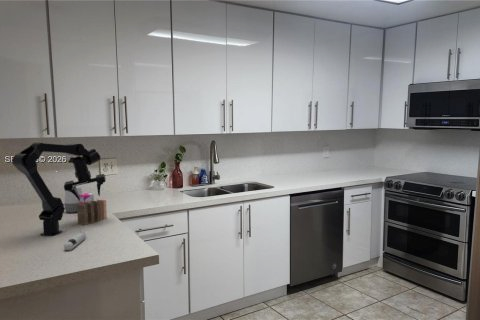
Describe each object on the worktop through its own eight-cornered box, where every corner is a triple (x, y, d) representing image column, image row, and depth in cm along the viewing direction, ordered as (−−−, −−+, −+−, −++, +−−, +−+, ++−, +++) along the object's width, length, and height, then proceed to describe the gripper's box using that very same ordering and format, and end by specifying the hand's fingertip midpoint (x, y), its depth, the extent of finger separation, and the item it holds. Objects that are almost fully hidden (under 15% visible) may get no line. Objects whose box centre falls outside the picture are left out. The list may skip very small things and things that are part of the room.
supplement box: (89, 213, 201) (88, 192, 200) (95, 214, 197) (94, 193, 196) (79, 215, 196) (78, 194, 195) (84, 216, 192) (83, 195, 191)
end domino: (104, 219, 187) (103, 200, 186) (97, 218, 189) (96, 199, 188) (106, 218, 188) (106, 199, 187) (99, 217, 190) (99, 199, 189)
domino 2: (91, 223, 180) (91, 203, 179) (84, 222, 182) (83, 202, 181) (94, 222, 181) (93, 202, 180) (87, 221, 183) (86, 201, 182)
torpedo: (73, 252, 140) (73, 235, 139) (61, 252, 140) (60, 235, 139) (90, 237, 158) (89, 222, 157) (78, 237, 158) (78, 222, 157)
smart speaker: (77, 209, 210) (76, 185, 209) (86, 211, 205) (85, 186, 204) (61, 212, 203) (60, 187, 201) (70, 214, 197) (69, 189, 196)
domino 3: (98, 221, 183) (97, 201, 182) (91, 220, 185) (90, 201, 184) (100, 220, 185) (99, 201, 184) (93, 219, 187) (92, 200, 186)
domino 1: (85, 225, 176) (84, 205, 175) (78, 224, 178) (77, 204, 177) (87, 224, 177) (87, 204, 177) (80, 223, 180) (79, 203, 179)
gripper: (102, 160, 185) (109, 188, 190) (62, 168, 180) (71, 196, 185) (101, 166, 175) (109, 195, 180) (59, 174, 170) (68, 204, 175)
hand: (89, 197), depth 180 cm, fingers open, 9 cm apart
